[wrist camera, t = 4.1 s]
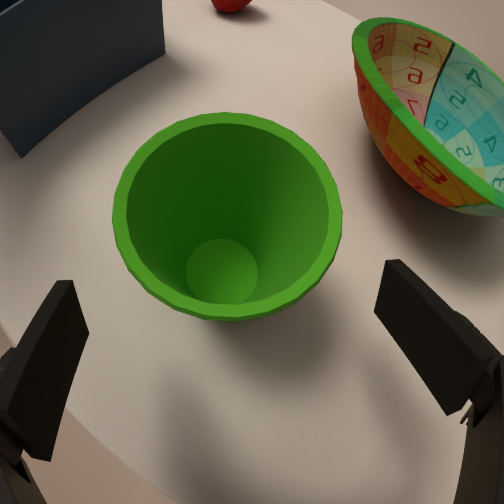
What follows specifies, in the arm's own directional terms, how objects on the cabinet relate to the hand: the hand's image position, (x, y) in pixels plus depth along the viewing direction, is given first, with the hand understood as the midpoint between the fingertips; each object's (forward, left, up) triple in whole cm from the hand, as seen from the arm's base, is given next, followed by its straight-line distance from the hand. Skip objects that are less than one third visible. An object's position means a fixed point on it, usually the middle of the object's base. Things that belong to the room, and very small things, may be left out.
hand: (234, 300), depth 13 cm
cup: (+1, +3, -9) cm, 10 cm away
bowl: (+24, +6, -9) cm, 27 cm away
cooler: (-7, +33, -9) cm, 35 cm away
